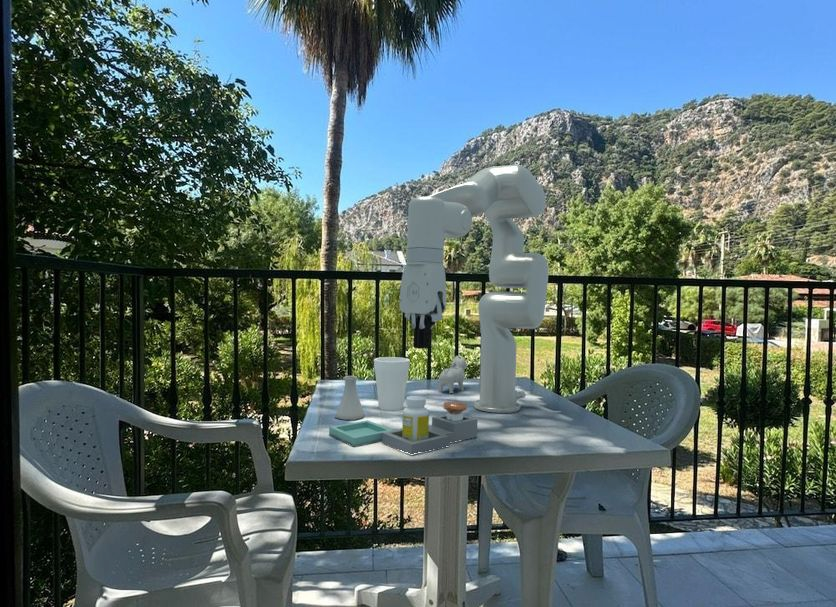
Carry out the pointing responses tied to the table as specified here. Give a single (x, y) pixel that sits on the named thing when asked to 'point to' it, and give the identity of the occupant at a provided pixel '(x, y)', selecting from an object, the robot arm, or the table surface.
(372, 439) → the tray
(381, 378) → the foam cup
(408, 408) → the supplement bottle
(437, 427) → the housing
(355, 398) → the flask
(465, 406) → the plunger
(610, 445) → the table surface
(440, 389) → the dog figurine
